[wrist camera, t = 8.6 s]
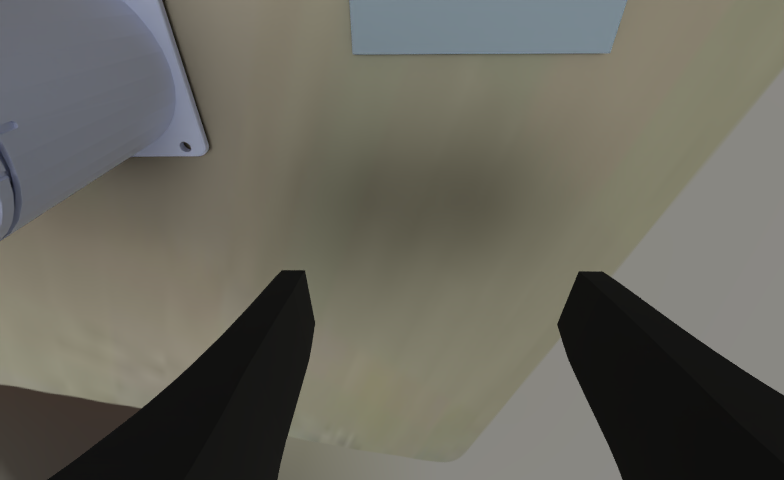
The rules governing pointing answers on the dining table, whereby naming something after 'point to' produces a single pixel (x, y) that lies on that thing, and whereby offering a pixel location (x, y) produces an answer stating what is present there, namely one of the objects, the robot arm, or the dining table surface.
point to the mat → (484, 26)
